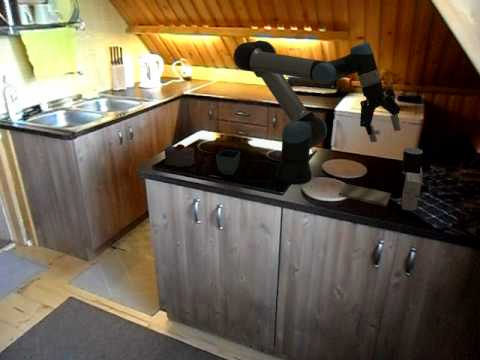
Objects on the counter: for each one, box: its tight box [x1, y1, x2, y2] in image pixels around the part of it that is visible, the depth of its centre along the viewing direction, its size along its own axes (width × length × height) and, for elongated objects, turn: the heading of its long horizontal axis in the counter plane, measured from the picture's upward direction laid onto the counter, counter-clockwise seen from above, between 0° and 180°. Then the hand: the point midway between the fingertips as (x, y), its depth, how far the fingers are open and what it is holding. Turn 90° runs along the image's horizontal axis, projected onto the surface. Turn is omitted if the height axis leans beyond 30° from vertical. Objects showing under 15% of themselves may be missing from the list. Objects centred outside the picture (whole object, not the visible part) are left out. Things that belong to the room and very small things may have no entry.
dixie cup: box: [401, 146, 423, 176], centre depth 170 cm, size 8×8×11 cm
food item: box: [164, 143, 195, 168], centre depth 177 cm, size 14×8×10 cm, turn 82°
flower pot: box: [215, 149, 241, 176], centre depth 169 cm, size 9×9×9 cm
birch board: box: [338, 183, 392, 207], centre depth 151 cm, size 18×10×1 cm, turn 61°
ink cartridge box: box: [400, 167, 424, 211], centre depth 141 cm, size 9×5×15 cm, turn 161°
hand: (386, 136), depth 152 cm, fingers open, 13 cm apart
